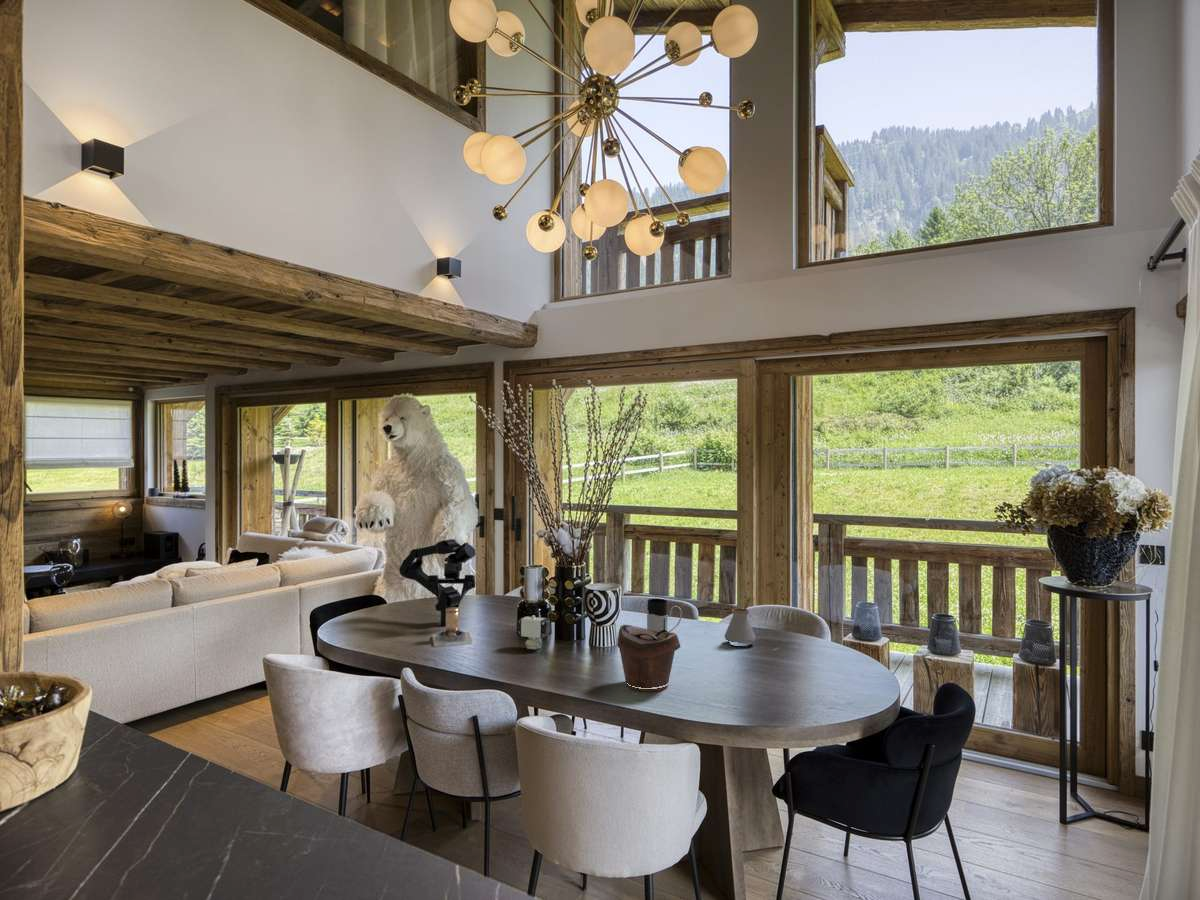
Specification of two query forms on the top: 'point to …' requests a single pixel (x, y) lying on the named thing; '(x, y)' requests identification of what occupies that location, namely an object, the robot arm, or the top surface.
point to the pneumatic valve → (533, 630)
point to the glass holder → (658, 615)
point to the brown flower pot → (646, 656)
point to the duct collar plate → (451, 639)
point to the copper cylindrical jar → (452, 621)
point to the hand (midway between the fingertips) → (449, 599)
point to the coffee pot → (740, 626)
